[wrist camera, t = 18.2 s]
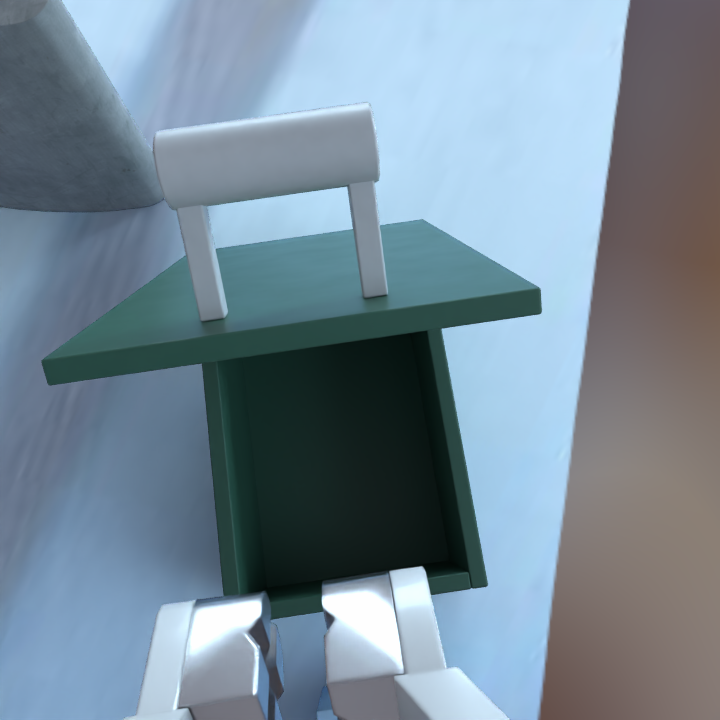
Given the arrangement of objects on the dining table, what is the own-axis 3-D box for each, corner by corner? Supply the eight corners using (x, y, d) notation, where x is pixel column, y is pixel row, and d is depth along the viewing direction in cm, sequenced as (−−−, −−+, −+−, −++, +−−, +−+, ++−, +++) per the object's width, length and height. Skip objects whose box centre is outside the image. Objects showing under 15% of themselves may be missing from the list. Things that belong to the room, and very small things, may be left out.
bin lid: (542, 314, 17) (530, 72, 15) (47, 386, 16) (-23, 149, 15) (424, 232, 35) (413, 120, 33) (191, 265, 35) (168, 154, 33)
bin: (463, 570, 40) (488, 586, 31) (257, 601, 39) (226, 626, 31) (413, 284, 44) (423, 228, 35) (227, 311, 44) (192, 261, 35)
